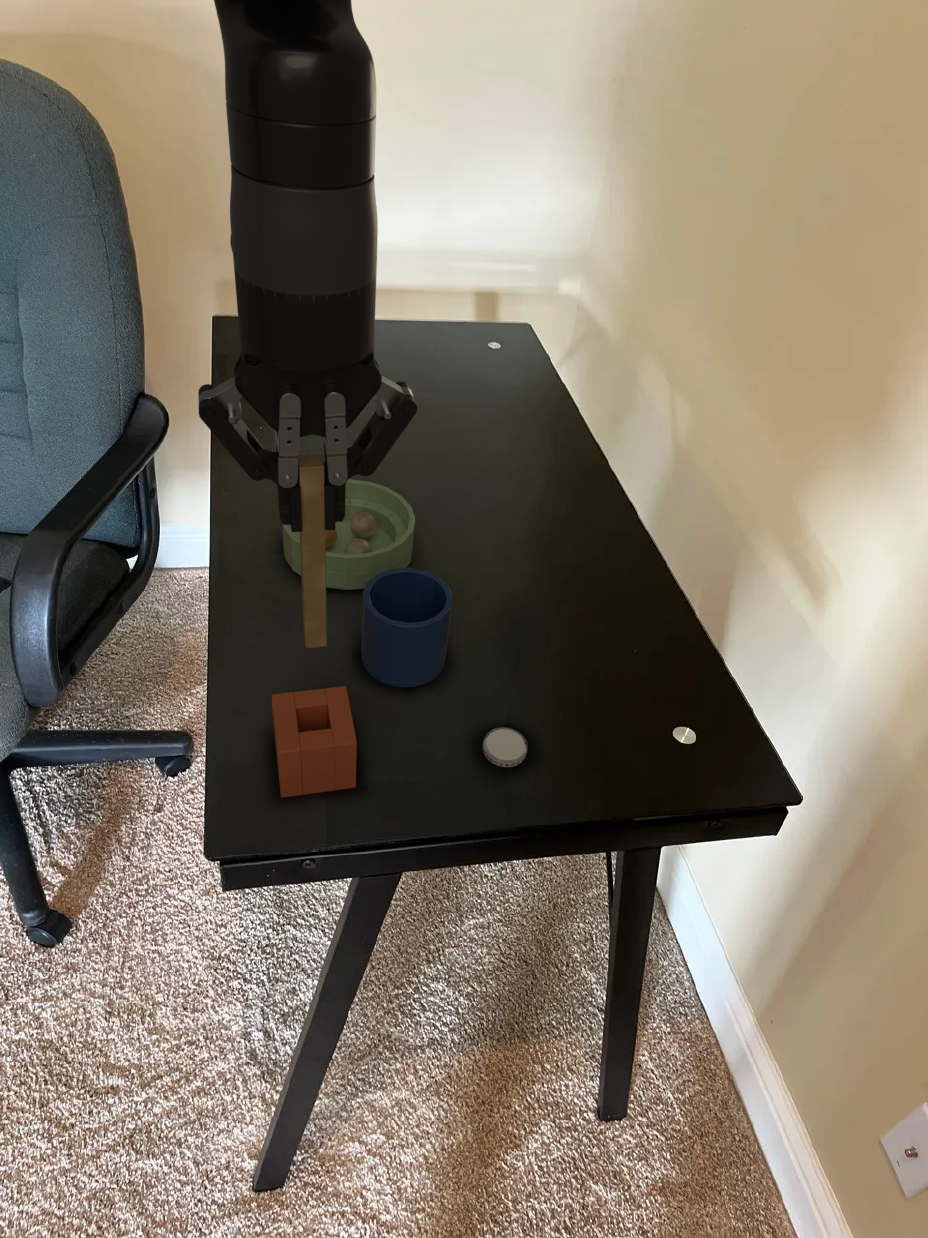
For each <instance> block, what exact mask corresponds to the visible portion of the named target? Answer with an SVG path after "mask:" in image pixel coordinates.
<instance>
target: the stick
mask: <svg viewBox="0 0 928 1238" xmlns="http://www.w3.org/2000/svg"><path fill="white" fill-rule="evenodd" d="M298 479H299V485H300V486H301V507H302V532H300V553H301V576H300V577H301V579H300V580H301V602H302V603H301V605H302V624H303V625H302V627H303V628H302V629H303V631H302V632H303V639H304V646H305V649H313V648H314V649H315V648H325V647H327V645H328V642H327V641H328V635H327V633H328V627H327V625H328V624H327V621H328V620H327V587H326V540H325V506H324V484H325V467H324V456H323V454H322V453H306V454H303V453H302V454H299V457H298Z"/></svg>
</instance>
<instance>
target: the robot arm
mask: <svg viewBox="0 0 928 1238" xmlns="http://www.w3.org/2000/svg"><path fill="white" fill-rule="evenodd" d="M213 3H214V8H215V11H216V17H217V20H218V25H219V29H220V35H221V42H222V49H223V57H224V93H225V96H224V97H225V107H226V108H225V109H226V121H227V123H226V124H227V135H228V149H229V159H230V196H229V223H230V225H229V226H230V239H229V240H230V241H229V242H230V248H231V252H232V261H233V272H234V283H235V285H234V286H235V296H236V297H235V298H236V307H237V308H236V309H237V319H238V332H239V346H240V352H239V356H238V359H237V360H236V362H235V365H234V367H233V376H232V377H230V378H229V379H227V380H226V381H224V382H222V383H220V384H218V385H217V386H215V385H214V384H210V383H206V384H202V385H201V386H200V387H199V388H198V390H197V391H198V392H197V393H198V394H197V395H198V398H197V399H198V417H199V418H200V420H201V422H203V423H204V424H205V426H206V427H207V428H208V429H209V430H210V432H211V433H212V434H213V436H214V437H215V438H216V439H217V440H218V441H219V443H220V444H221V445H222V446H223V447H224V448H225V449H226V451H227V452H228V453H229V454H230V456H231V457H232V458H233V459H234V460H235V462H236V463H237V464H238V465H239V466H240V467H241V469H242V470H243V471H244V472H245V474H247V476H248V477H249V479H251V480H253V481H256V482H260V481H263V480H265V479H266V480H270V481H272V482H273V483H275V484H276V490H277V491H276V492H277V506H278V514H279V515H278V516H279V520H280V522H281V524H282V523H283V525H291V531H292V532H302V507H301V486H300V485H299V479H298V457H299V455H300V444H301V443H300V438H301V439H302V438H304V437H308V436H318V437H322V445H323V462H324V467H325V484H324V506H325V530H335V529H336V522H342V521H343V519H344V517H345V490H346V482H347V480H348V479H351V478H352V477H355V476H358V475H360V476H362V477H369V476H372V475H373V474H374V473H375V472H376V471H377V469H378V467H379V466H380V465H381V463H382V462H383V461H384V459H385V457H386V456H387V454H388V453H389V452H390V451H391V449H392V448H393V447H394V445H395V444H396V442H397V441H398V439H400V437H401V435H402V434H403V432H404V431H405V429H406V428H407V426H408V425H409V424H410V422H411V421H412V420H413V418H414V417H415V416H416V414H417V412H418V405H417V402H416V399H415V396H414V393H413V391H412V390H411V387H410V385H409V383H407V382H406V381H403V380H402V381H397V382H394V381H392V380H390V379H388V378H387V377H385V376H384V375H382V372H381V370H380V366H379V364H378V362H377V360H376V357H375V334H376V333H375V332H376V331H375V330H376V329H375V328H376V324H375V323H376V299H377V298H376V297H377V272H378V271H377V269H378V235H379V234H378V233H379V229H378V227H379V226H378V225H379V223H378V222H379V221H378V220H379V219H378V206H377V199H376V197H377V196H376V186H375V185H376V184H375V183H376V182H375V170H376V169H375V167H376V137H377V135H376V133H377V130H376V129H377V76H376V67H375V62H374V58H373V54H372V51H371V49H370V47H369V45H368V43H367V41H366V40H365V38H364V37H363V35H362V34H361V32H360V30H359V28H358V27H357V24H356V22H355V18H354V13H353V7H352V6H353V5H352V0H213ZM374 397H375V398H374ZM242 398H243V399H244V400H245V401H246V402H247V403H248V405H250V407H251V408H252V409H253V410H254V411H256V412H257V414H258V415H259V416H260V417H261V418H262V419H263V420H264V422H265V423H266V424H267V425H268V426H269V427H270V428H271V429H272V430H273V431H274V439H275V440H274V441H275V442H274V443H275V444H274V445H275V448H274V449H275V450H274V451H272V450H268V449H265V446H263V444H262V443H261V441H260V440H259V439H258V438H257V437H256V435H255V434H254V433H253V432H252V430H251V428H249V426H248V425H247V424H246V422H245V421H244V420H243V419H242V417H243V409H242V402H241V399H242ZM373 398H374V401H373V406H374V408H375V411H374V413H373V414H372V415H371V417H370V418H369V419H368V421H367V423H366V424H365V426H364V427H363V429H362V430H361V432H360V433H359V435H358V436H357V438H356V439H355V440H354V442H353V443H352V445H351V446H350V447H348V439H347V430H348V429H349V427H350V426H351V425H352V424H353V423H354V422H355V420H357V418H358V417H359V416H360V414H361V413H362V411H364V409H365V408H366V407H367V406H368V404H370V402H371V400H372V399H373Z"/></svg>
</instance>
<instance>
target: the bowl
mask: <svg viewBox="0 0 928 1238" xmlns="http://www.w3.org/2000/svg"><path fill="white" fill-rule="evenodd" d="M360 512H367V513H370V514H371V515H373V516H374V517H375V519H376V521H377V530H376V532H375V534H374V535H373V536H372V537H370V538H367V539H364V540H366V541H368V542H369V543H370V545H371V547H372V550H373V552H369V553H360V554H345V548H346V545H347V544H348V543H349V542H350V541H351V540H353V539H356V538H358V537H357V536H355V535H354V534H353V532H352V530H351V520H352V518H353V517H354V516H355V515H356V514H358V513H360ZM415 526H416V516H415V513H414V510H413V507H412V506H411V504H410V503H409V502H408V501H407V500H406V499H405V498H404V497H403V496H402V495H401V494H399V493H397V492H396V491H394V490H393V489H391V488H389V487H387V486H384V485H382V484H378V483H375V482H372V481H368V480H359V479H351V478H349V479H348V480H347V482H346V490H345V517H344V519H343V521H342V522H336V531H337V539H336V542H335V543H334V545H332V546H331V547H329V548H326V588H328V589H337V590H343V591H344V590H345V591H347V590H348V591H350V590H351V591H352V590H364V589H365V587H366V584H367V583H368V582H369V581H370V580H371V579H372V578H373V577H375V576H376V575H377V574H379V573H382V572H385V571H387V570H390V569H397V568H408V566H409V564H411V562H412V557H413V551H414V543H415V542H414V541H415V540H414V539H415ZM281 533H282V548H283V556H284V559H285V561H286V562H287V564H288V565H289V567H290V568H291V570H292V571H293V572H294V573H296V574H297V575H298V576H300V577H301V553H300V532H292V531H291V525H283V523H282V522H281Z"/></svg>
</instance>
